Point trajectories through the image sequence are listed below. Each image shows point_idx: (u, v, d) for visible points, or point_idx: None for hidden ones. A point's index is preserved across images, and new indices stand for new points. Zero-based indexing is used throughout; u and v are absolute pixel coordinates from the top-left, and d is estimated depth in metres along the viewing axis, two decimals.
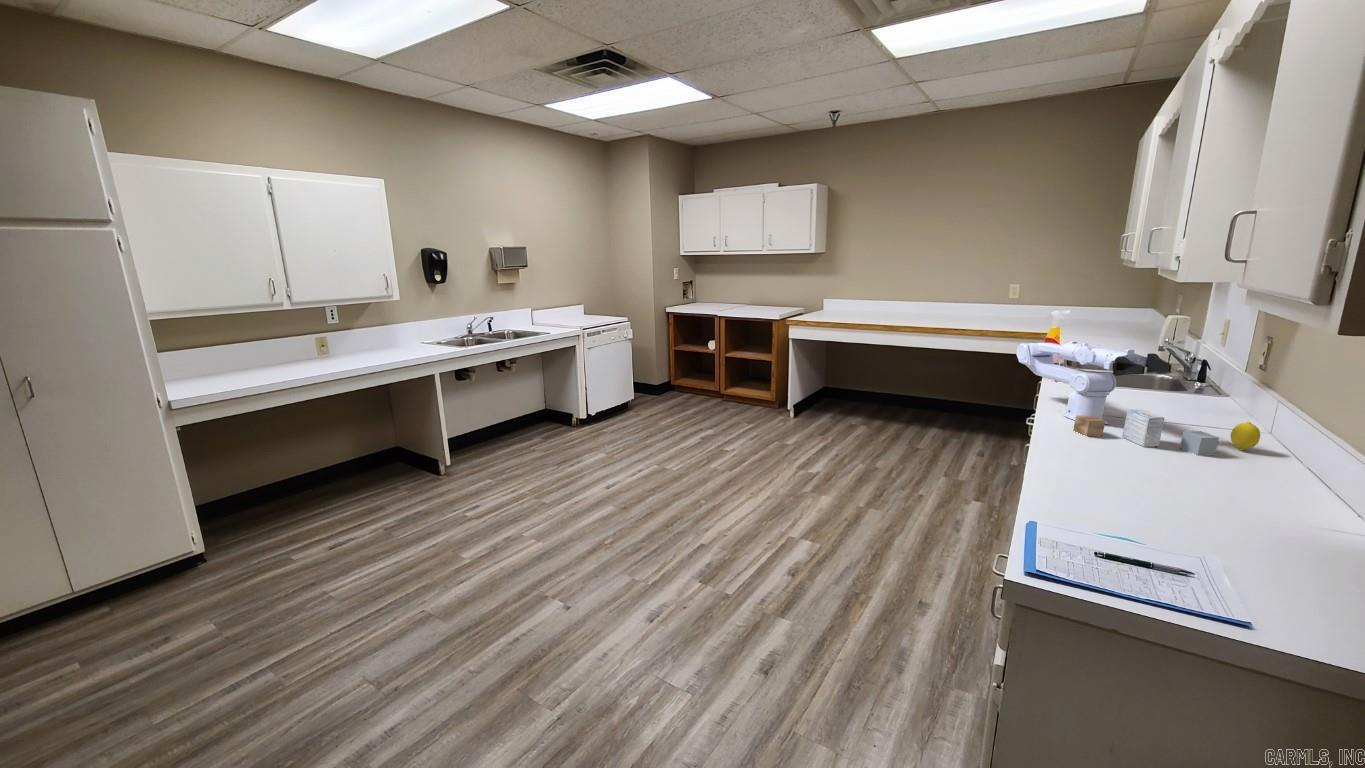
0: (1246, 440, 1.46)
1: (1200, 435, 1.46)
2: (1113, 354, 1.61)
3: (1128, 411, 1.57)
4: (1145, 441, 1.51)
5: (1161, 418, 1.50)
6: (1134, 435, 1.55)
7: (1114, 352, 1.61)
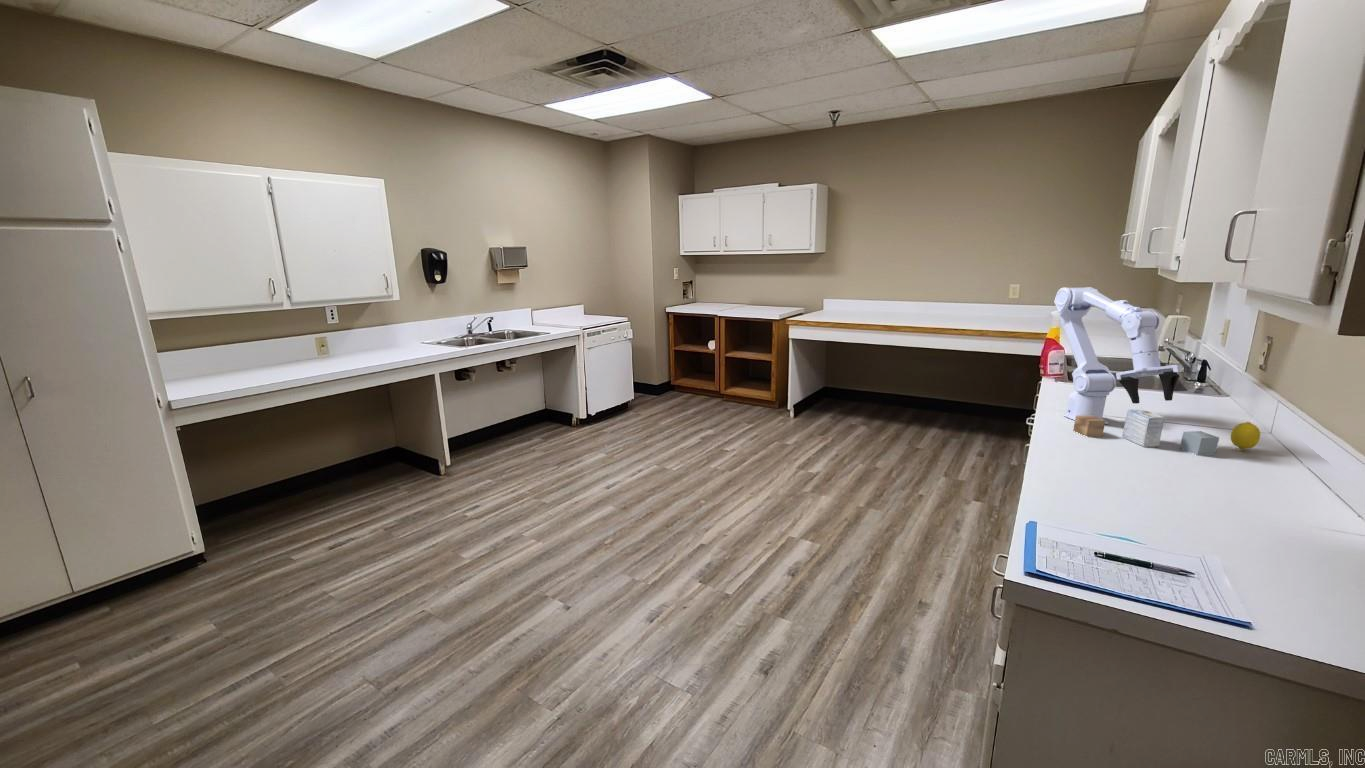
0: (1246, 440, 1.46)
1: (1200, 435, 1.46)
2: (1133, 359, 1.54)
3: (1128, 411, 1.57)
4: (1145, 441, 1.51)
5: (1161, 418, 1.50)
6: (1134, 435, 1.55)
7: (1135, 356, 1.53)
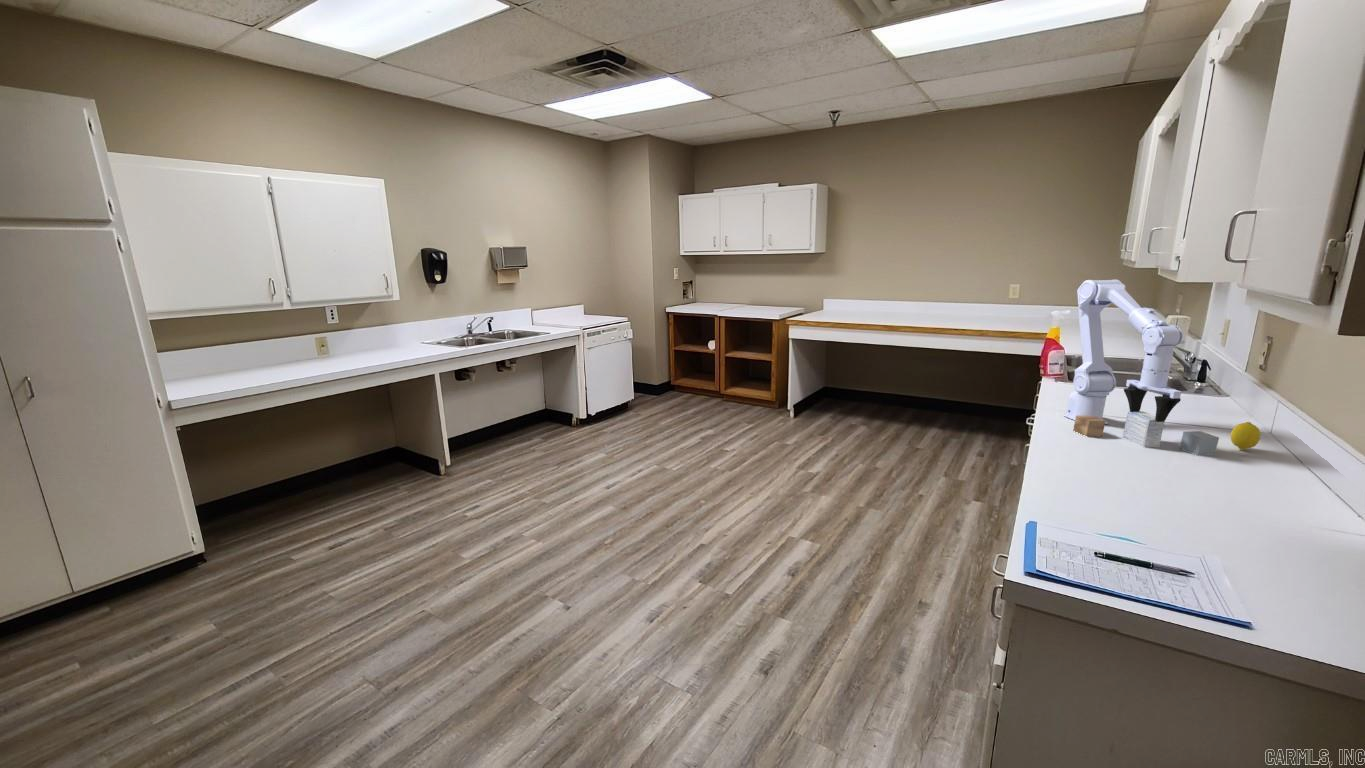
0: (1246, 440, 1.46)
1: (1200, 435, 1.46)
2: None
3: (1128, 413, 1.57)
4: (1146, 443, 1.51)
5: None
6: (1134, 437, 1.55)
7: (1142, 371, 1.51)
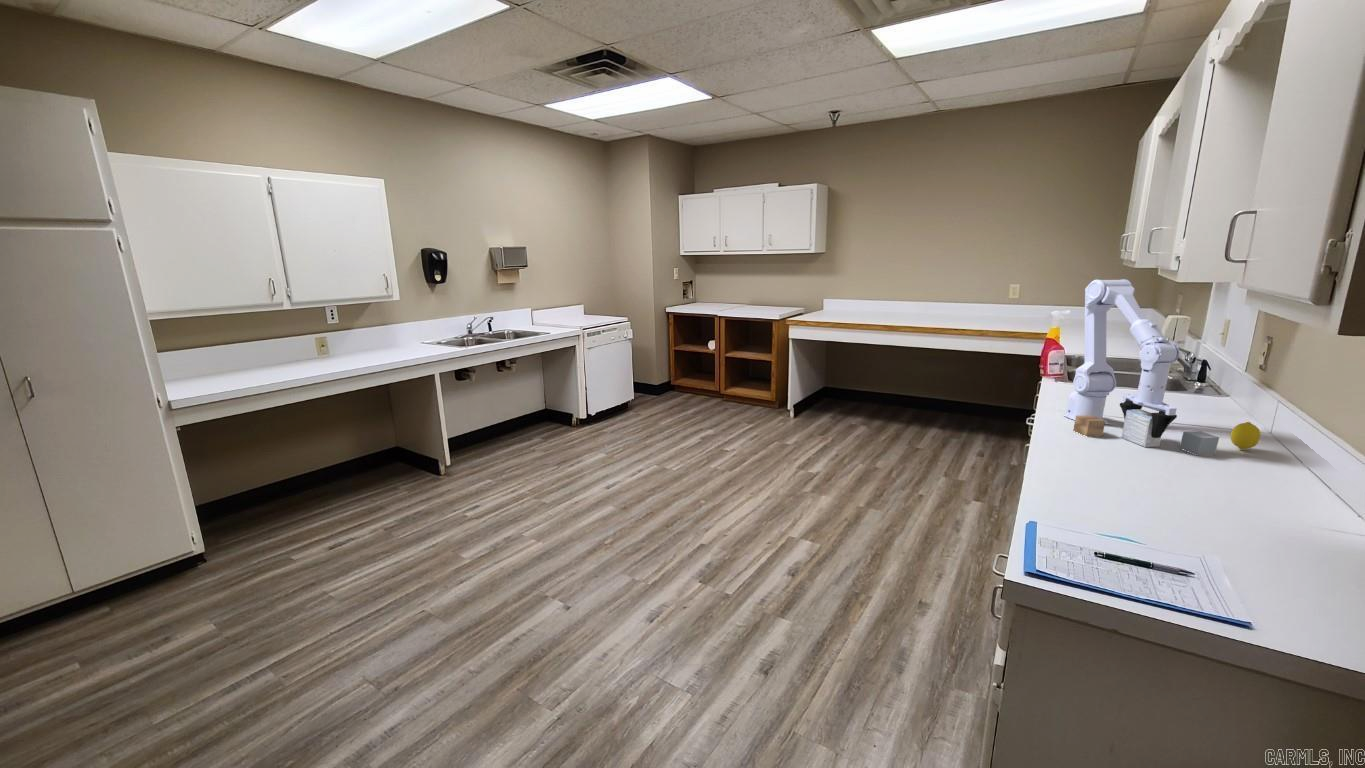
0: (1246, 440, 1.46)
1: (1200, 435, 1.46)
2: None
3: (1127, 411, 1.56)
4: (1147, 441, 1.51)
5: None
6: (1134, 435, 1.54)
7: (1139, 387, 1.52)
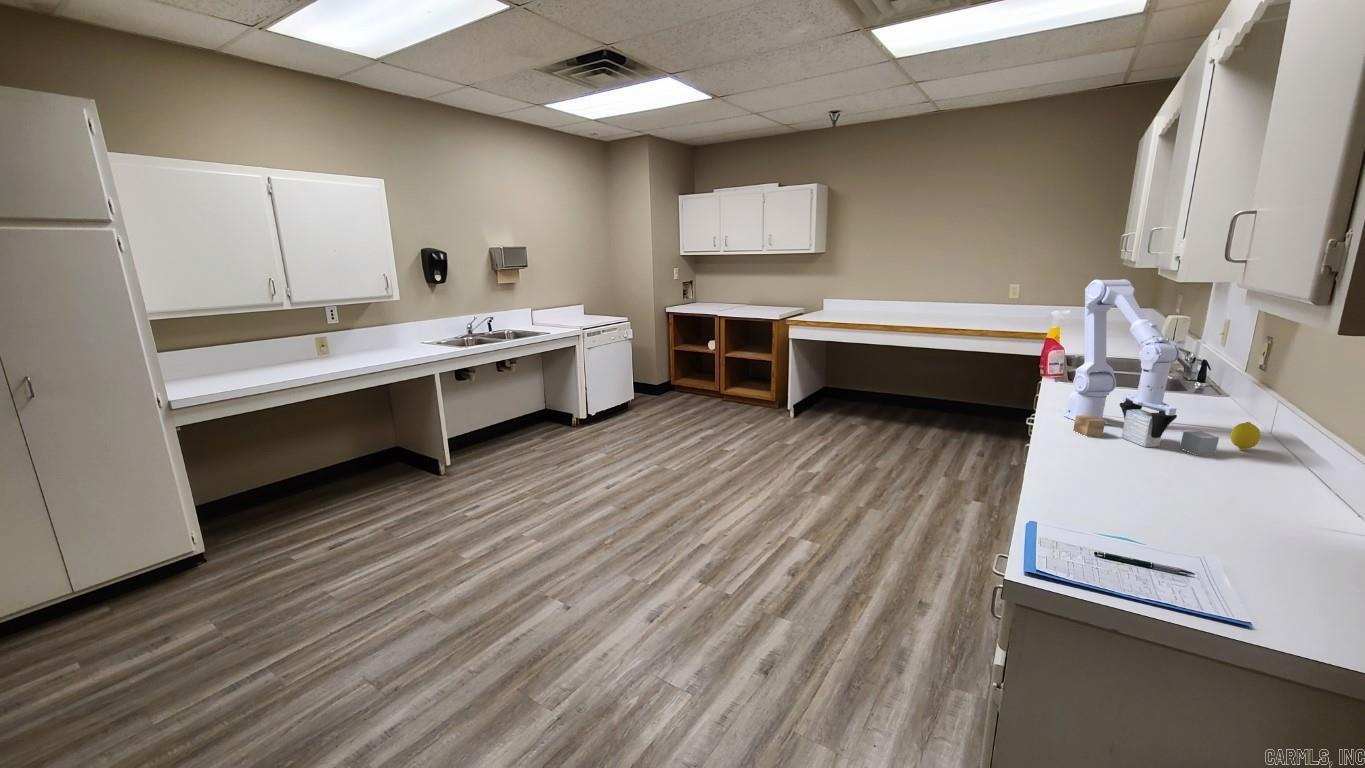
0: (1246, 440, 1.46)
1: (1200, 435, 1.46)
2: None
3: (1127, 411, 1.56)
4: (1147, 441, 1.51)
5: None
6: (1134, 435, 1.54)
7: (1139, 387, 1.52)
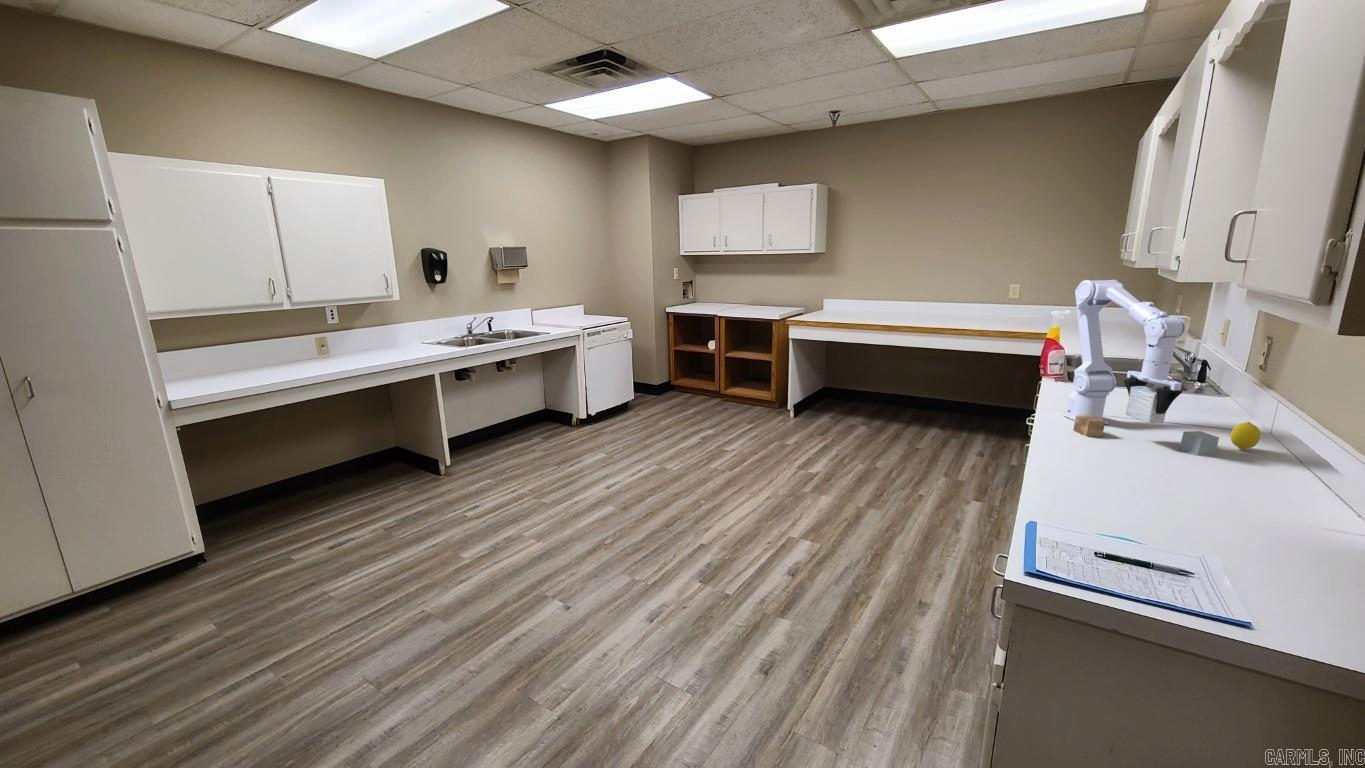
0: (1246, 440, 1.46)
1: (1200, 435, 1.46)
2: None
3: (1132, 388, 1.55)
4: (1151, 417, 1.49)
5: None
6: (1139, 412, 1.53)
7: (1144, 363, 1.51)
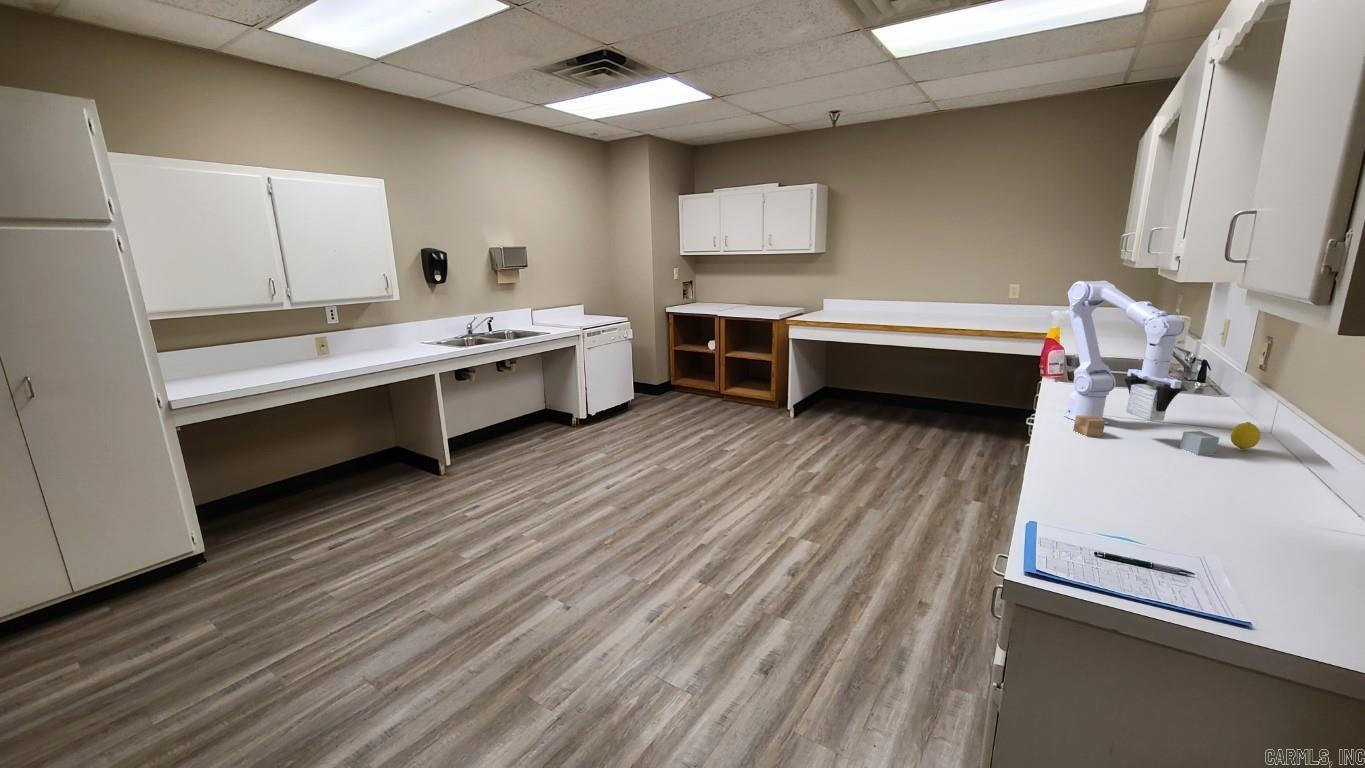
0: (1246, 440, 1.46)
1: (1200, 435, 1.46)
2: (1143, 363, 1.53)
3: (1132, 386, 1.57)
4: (1152, 415, 1.51)
5: None
6: (1139, 410, 1.55)
7: (1144, 361, 1.53)
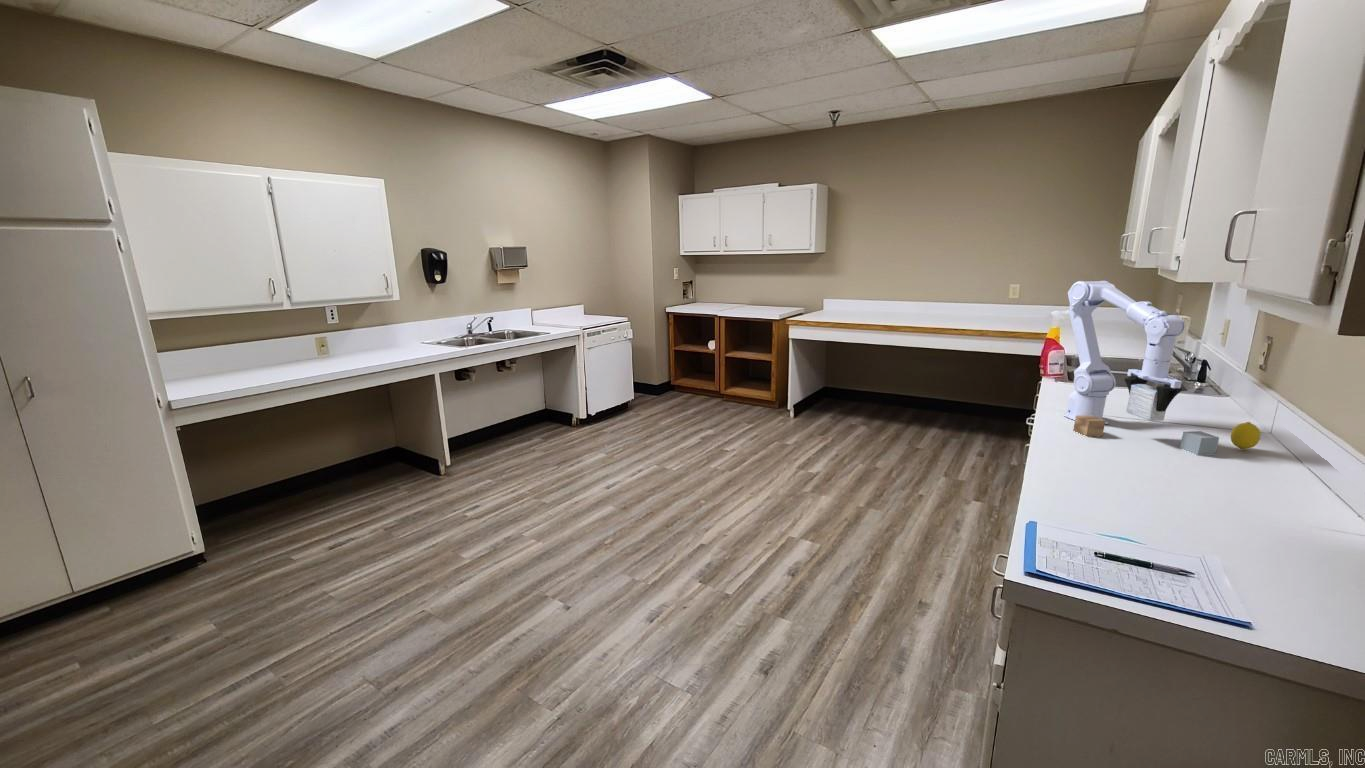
0: (1246, 440, 1.46)
1: (1200, 435, 1.46)
2: (1143, 363, 1.53)
3: (1132, 386, 1.57)
4: (1152, 415, 1.51)
5: None
6: (1139, 410, 1.55)
7: (1144, 361, 1.53)
